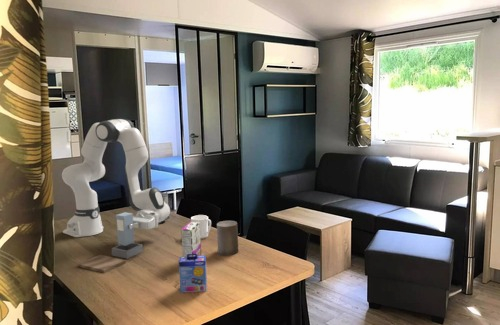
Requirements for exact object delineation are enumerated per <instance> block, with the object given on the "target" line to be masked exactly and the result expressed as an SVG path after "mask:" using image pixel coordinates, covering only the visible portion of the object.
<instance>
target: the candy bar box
mask: <svg viewBox="0 0 500 325" xmlns="http://www.w3.org/2000/svg"><path fill="white" fill-rule="evenodd" d="M180 233H181V234H180V235H181V247H182V248H181V249H182V250H181V251H182V257H183V256H187V254H196V253H197V256H202V244H201V243H202V242H201V241H202V240H201V239H200V224H199V222H191V221H190V222H188V223H187V224H186V225H185V226H183V227H182V228H181V229H180ZM190 256H195V255H190Z"/></svg>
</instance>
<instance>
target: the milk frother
mask: <svg viewBox="0 0 500 325" xmlns="http://www.w3.org/2000/svg"><path fill="white" fill-rule="evenodd" d="M161 193H162V192H161ZM162 195H163V199H164V202H165V203H166V204H167V205H168V206H169V197H168V196H169V194H168V193H167V192H166V193H165V192H163V193H162ZM169 218H170V215H169V216H168V217H167V218H166V219H165V220H163V221H161V222H160V223H165V222H166V220H167V219H169Z"/></svg>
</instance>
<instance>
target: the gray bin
mask: <svg viewBox="0 0 500 325" xmlns="http://www.w3.org/2000/svg"><path fill="white" fill-rule="evenodd" d="M142 252H144V250H143V244H142V243H137V242H134V243H131V244H129V245H126V246H124V245H120V244H117V245H116V246H114V247H111V257H112V256H114V257H117V258H122V259H127V260H128V259H130V258H131V257H134V256H136V255H138V254H140V253H142Z"/></svg>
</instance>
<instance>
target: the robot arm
mask: <svg viewBox="0 0 500 325" xmlns="http://www.w3.org/2000/svg"><path fill="white" fill-rule="evenodd" d="M116 142H119V143H120V144H121V145H122V148H123V152H124V155H125V165H124V171H125V172H124V173H125V178H126V184H127V189H128V200H129V205H130V207H131V208H132V209H133V210H134V211H135V212H136V213H135V214H133V224H129V225H128V228H129V229H132V228H134V229H143V230H151V229H154V228H158V227H159V223H161V221H163V220H167V219H166V218H167V217H168V216H169V217H170V213H171V208H170V206H169V204H168V205H167V204H166V203H165V202H164V199H163V195H162V191H161V190H160V189H159V188H157V187H150V188H146V189H143V190H142V189H141V188H140V181H139V172H140V170H141V169H142V167H143V166H145V164H146V163H147V162H148V159H149V151H148V147H147V145H146V142H145V139H144V137H143V135H142V133H141V131H140V130H139V129H138V128H136V127H135V125H134V124H133V122H132V121H131V120H130V119H127V118H115V119H113V118H112V119H109V120H103V121H101V122H95V123H93V124H92V125H91V127H90V128H89V130H88V132H87V134H86V136H85V138H84V142H83V144H82V146H81V149H80V154H81V155H82V157H83V158H84V159H83V162H81V163H76V164H71V165H69V166H67V167H65V168H64V169H63V170H62V173H61V178H62V180H63V182H64V183H65V184H66V185H67V186H69V187H70V188H71V190H72V191H73V195H74V198H75V205H76V206H75V207H76V208H74V209H73V211H74V215H72V217H71V218H70V219H69V220H68V221H67V224H66V225H67V226H66V229H64V230H62V233H63V234H65V235H68V236H71V237H74V238H80V237H90V236H95V235H99V234H102V232H104V226H103V222H102V218H101V214H100V206H99V203H98V202H99V201H98V194H97V191H95V190H94V189H93V188H91V186H90V182H95V181H98V180H100V179H101V178H103V177H104V176H105V174H106V167H105V165H104V164H103V156H104V153H105V150H106V149H107V146H108V143H116Z"/></svg>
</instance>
